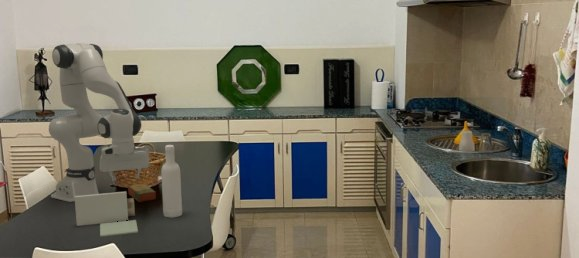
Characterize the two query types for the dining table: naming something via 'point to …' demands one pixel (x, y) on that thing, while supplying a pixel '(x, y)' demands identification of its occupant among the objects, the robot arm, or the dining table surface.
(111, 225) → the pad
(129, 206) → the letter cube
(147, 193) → the carton
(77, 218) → the screen
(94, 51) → the robot arm
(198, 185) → the dining table surface
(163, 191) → the bottle
